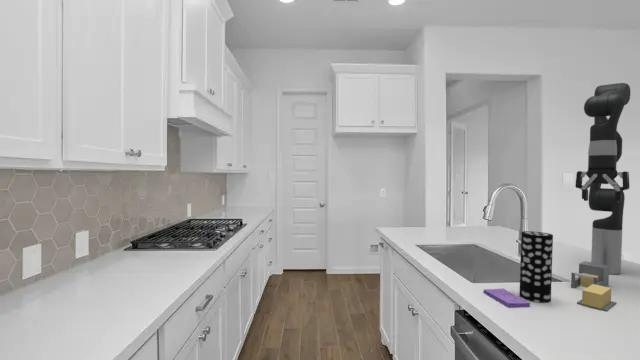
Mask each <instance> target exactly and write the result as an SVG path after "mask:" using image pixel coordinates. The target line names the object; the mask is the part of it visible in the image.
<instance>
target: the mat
mask: <svg viewBox="0 0 640 360" xmlns="http://www.w3.org/2000/svg"><path fill="white" fill-rule="evenodd" d="M576 304H577V305H581V306H583V307H589V308H592V309H596V310H599V311H603V312H608V311H609V310H610V309H612V308H614V306H616V305H617V301H612V300H611V301H610V302H609V303H608V304H607V305H605V306H604V307H603V308H597V307H593V306H589V305H585V304H582V299H580V300H579V301H577V302H576Z"/></svg>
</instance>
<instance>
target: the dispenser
mask: <svg viewBox="0 0 640 360" xmlns="http://www.w3.org/2000/svg"><path fill="white" fill-rule="evenodd" d="M609 275H610V274H609V265H603V264H597V263H592V262H591V261H585V260H584V261H582V262H581V263H578V272H574V271H572V272H571V276H570V277H571V282H570V287H571V288H573V289H575V288H577V287H579V286H580V287H585V288H587V287H589V286H590V285H592V284H595V285H600V286H605V287H608V286H609V280H610V279H609V278H610V276H609ZM576 276H577V277H576Z"/></svg>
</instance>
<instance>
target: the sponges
mask: <svg viewBox="0 0 640 360" xmlns="http://www.w3.org/2000/svg"><path fill="white" fill-rule="evenodd" d="M483 294H485V295H487V296H488V297H490V298H492V299H493V300H495V301H496V302H498V303H499V304H501V305H503V306H504V307H506V308H510V309H511V308H530V307H531V301H529V300H526V299H524V298H522V297H520V296H518V295H516V294H514V293H513V292H511V291H509V290H507V289H505V288H489V289H488V288H484V289H483Z"/></svg>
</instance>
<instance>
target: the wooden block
mask: <svg viewBox="0 0 640 360" xmlns="http://www.w3.org/2000/svg"><path fill="white" fill-rule="evenodd" d="M581 293H582V295H581V296H582V297H581V300H582V304H585V305H589V306H593V307H597V308H603V307H604V306H605V305H607V304H608V303H609V302H610V301H612V287H608V286H607V287H605V286H600V285H595V284H592V285H590V286H589V287H585V288H584V289H582V291H581Z"/></svg>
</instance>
